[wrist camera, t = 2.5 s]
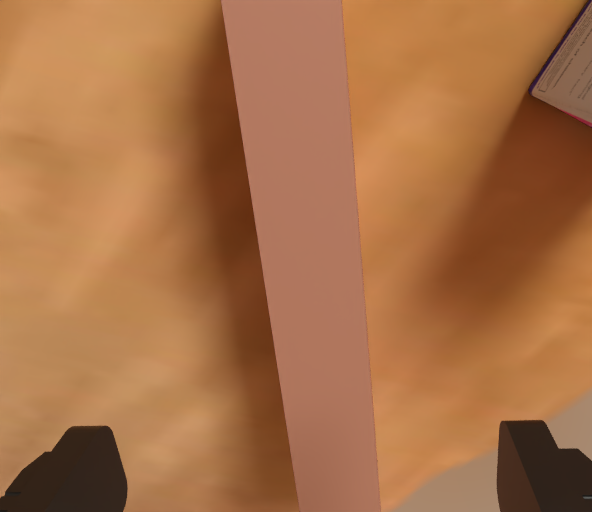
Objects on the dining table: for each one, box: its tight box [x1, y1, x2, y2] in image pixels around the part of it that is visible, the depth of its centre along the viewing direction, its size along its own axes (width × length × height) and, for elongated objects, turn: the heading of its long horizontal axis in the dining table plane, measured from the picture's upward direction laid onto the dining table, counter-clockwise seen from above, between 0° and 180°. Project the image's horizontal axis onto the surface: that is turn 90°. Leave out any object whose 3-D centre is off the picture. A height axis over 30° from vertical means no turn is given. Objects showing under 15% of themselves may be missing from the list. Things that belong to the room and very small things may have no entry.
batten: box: [221, 0, 381, 512], centre depth 22 cm, size 4×24×7 cm, turn 7°
